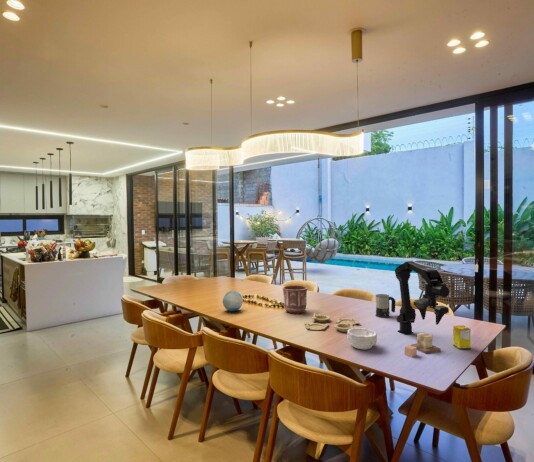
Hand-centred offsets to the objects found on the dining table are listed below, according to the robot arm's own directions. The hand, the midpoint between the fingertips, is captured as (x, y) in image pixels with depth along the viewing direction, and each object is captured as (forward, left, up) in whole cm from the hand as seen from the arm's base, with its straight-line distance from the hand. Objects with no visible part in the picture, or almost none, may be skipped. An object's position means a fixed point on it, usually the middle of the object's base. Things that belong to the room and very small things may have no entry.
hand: (430, 322), depth 182 cm
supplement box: (+9, +13, -13) cm, 20 cm away
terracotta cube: (+6, -19, -13) cm, 24 cm away
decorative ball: (-110, -77, -13) cm, 135 cm away
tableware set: (-51, -28, -13) cm, 60 cm away
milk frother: (-58, +18, -13) cm, 62 cm away
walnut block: (+3, -6, -13) cm, 15 cm away
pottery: (-90, -35, -13) cm, 98 cm away
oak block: (+2, -7, -11) cm, 13 cm away
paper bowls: (-13, -34, -13) cm, 39 cm away
